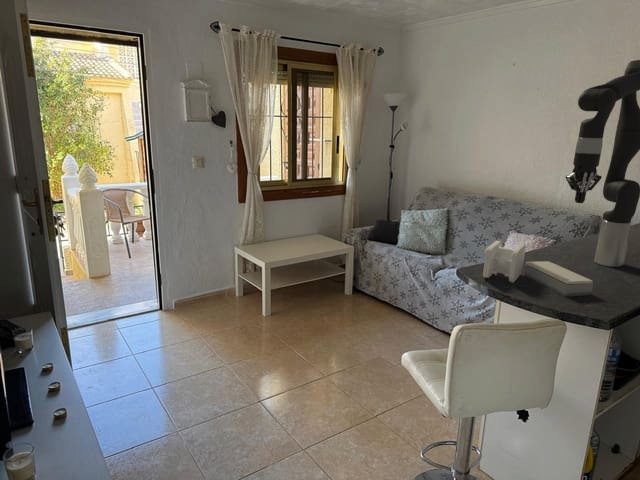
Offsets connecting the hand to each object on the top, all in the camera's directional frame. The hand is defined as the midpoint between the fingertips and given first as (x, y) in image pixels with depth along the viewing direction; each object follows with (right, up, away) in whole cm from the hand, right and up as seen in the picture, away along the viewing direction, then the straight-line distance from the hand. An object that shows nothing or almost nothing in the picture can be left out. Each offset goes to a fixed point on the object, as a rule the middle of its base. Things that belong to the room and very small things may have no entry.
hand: (579, 202), depth 155 cm
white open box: (-9, -28, -2) cm, 29 cm away
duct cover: (-9, -24, -3) cm, 26 cm away
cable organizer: (-25, -26, +5) cm, 36 cm away
